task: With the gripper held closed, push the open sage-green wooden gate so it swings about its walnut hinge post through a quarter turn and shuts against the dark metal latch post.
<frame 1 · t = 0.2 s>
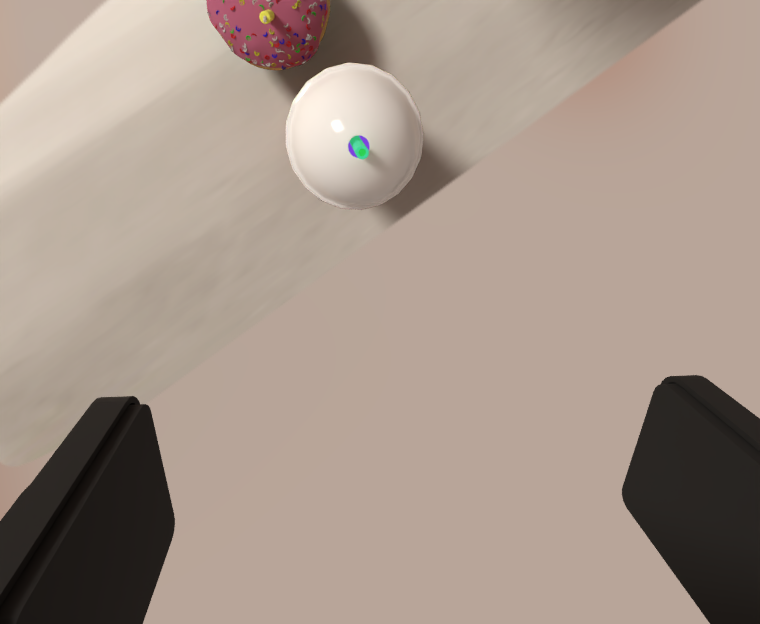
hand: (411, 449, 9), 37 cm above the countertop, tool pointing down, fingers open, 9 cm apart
cupcake: (275, 12, 37), on the countertop
smoothie: (346, 126, 41), on the countertop
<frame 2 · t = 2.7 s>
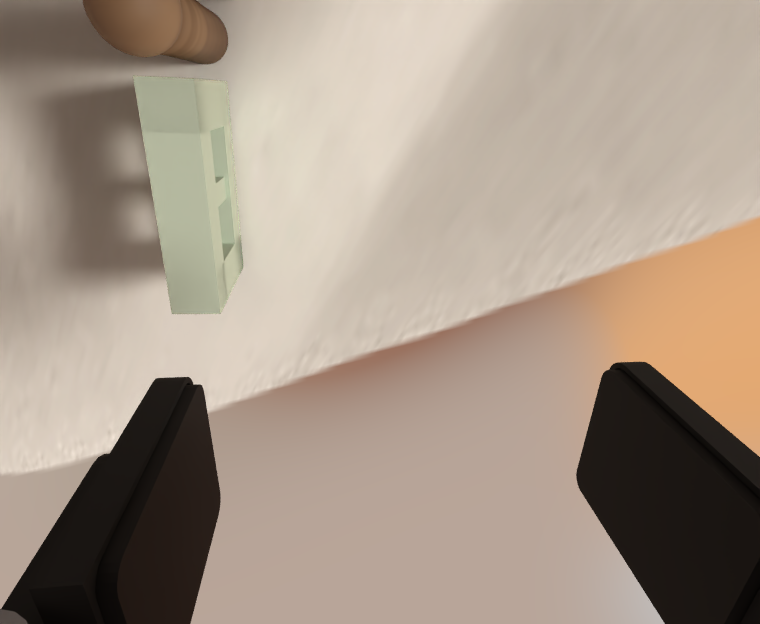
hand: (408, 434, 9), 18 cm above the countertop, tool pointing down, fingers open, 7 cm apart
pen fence: (202, 36, 21), on the countertop
gate: (200, 193, 21), point 4 cm above the countertop, hinge at 110.0°
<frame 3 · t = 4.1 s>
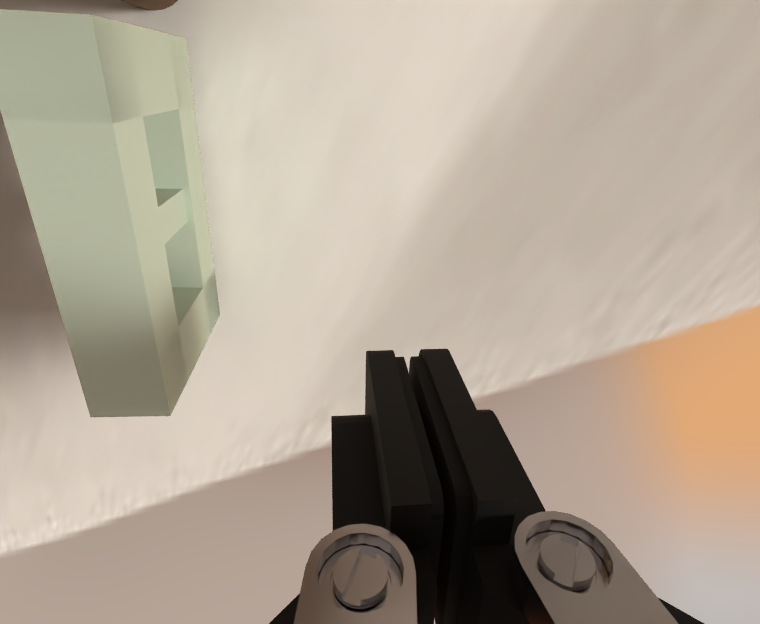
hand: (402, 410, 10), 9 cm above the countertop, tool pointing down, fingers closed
gate: (140, 217, 13), point 4 cm above the countertop, hinge at 110.0°
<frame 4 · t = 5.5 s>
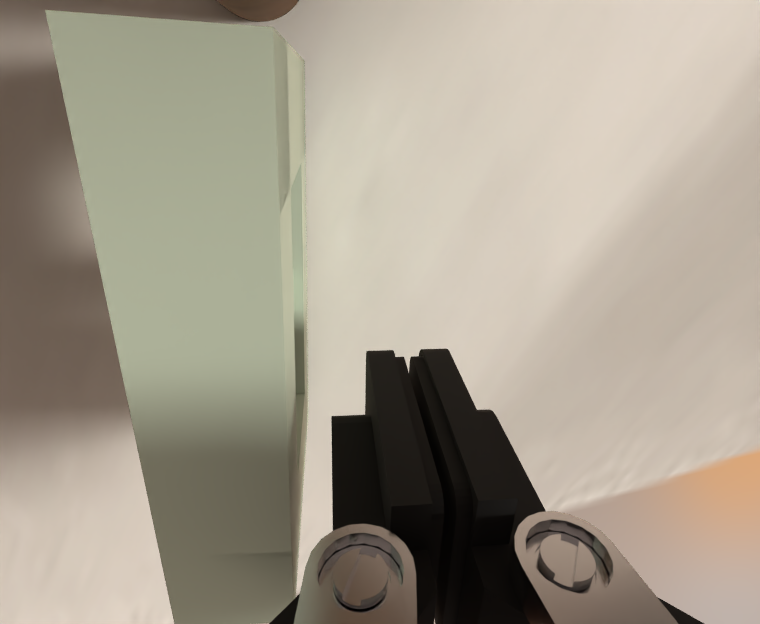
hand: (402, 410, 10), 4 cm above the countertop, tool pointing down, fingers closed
gate: (246, 317, 9), point 4 cm above the countertop, hinge at 110.0°, touching gripper
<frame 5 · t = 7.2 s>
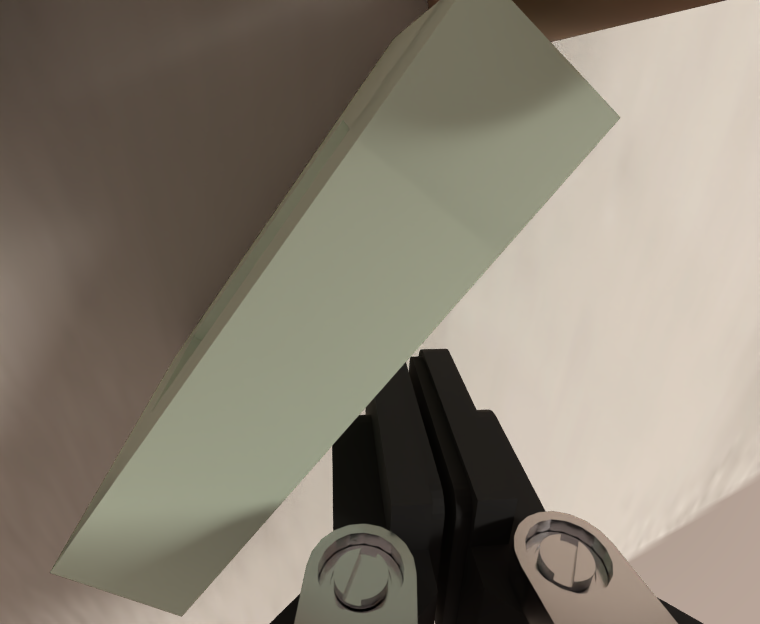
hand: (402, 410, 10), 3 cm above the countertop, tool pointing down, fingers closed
gate: (301, 289, 8), point 4 cm above the countertop, hinge at 50.3°, touching gripper
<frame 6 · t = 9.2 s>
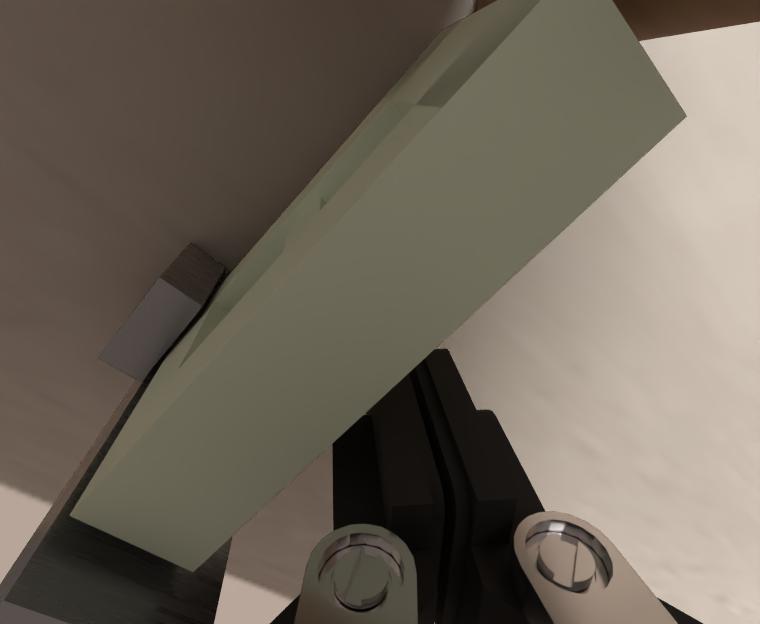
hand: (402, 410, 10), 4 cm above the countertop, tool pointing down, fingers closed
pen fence: (527, 1, 10), on the countertop
gate: (335, 262, 8), point 4 cm above the countertop, hinge at -1.7°, touching gripper
latch post: (205, 374, 13), on the countertop
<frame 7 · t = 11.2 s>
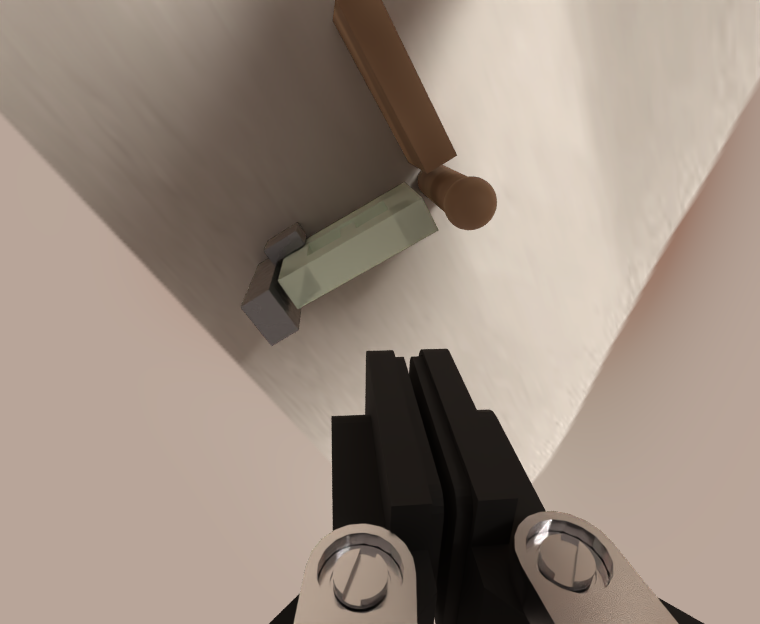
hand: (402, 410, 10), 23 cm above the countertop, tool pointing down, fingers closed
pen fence: (433, 180, 31), on the countertop
gate: (354, 241, 28), point 4 cm above the countertop, hinge at -1.7°
latch post: (281, 274, 32), on the countertop
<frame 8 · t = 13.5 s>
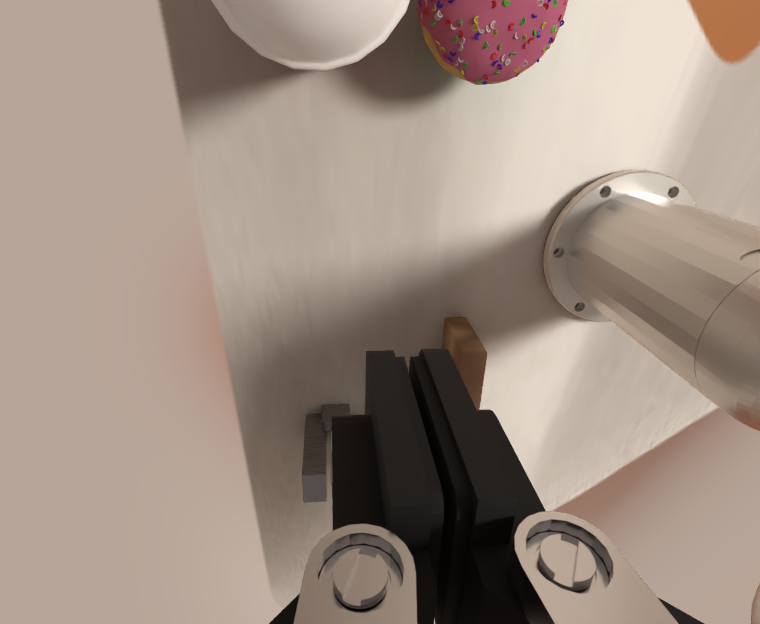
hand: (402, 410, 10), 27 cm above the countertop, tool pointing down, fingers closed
cupcake: (470, 12, 31), on the countertop
smoothie: (316, 5, 30), on the countertop
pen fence: (444, 420, 44), on the countertop
gate: (383, 448, 41), point 4 cm above the countertop, hinge at -1.7°
latch post: (316, 426, 43), on the countertop
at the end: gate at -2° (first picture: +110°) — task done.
